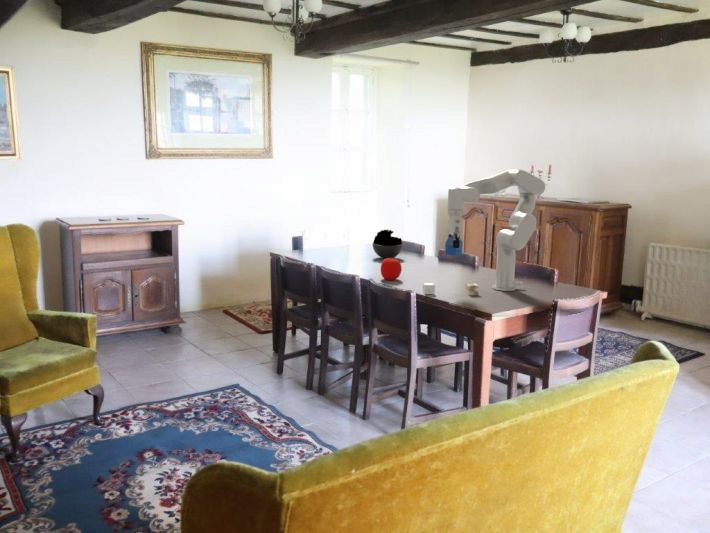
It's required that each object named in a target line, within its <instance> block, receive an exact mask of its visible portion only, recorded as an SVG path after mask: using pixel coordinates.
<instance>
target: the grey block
mask: <svg viewBox="0 0 710 533" xmlns="http://www.w3.org/2000/svg"><path fill="white" fill-rule="evenodd" d="M435 285H436V284H434V282H423V283H422V293H423V295H425V294H435V293H436V292H435V291H436V286H435Z"/></svg>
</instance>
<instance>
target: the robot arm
mask: <svg viewBox="0 0 710 533" xmlns="http://www.w3.org/2000/svg"><path fill="white" fill-rule="evenodd" d="M511 187H517V190H518V194H519V201H518V203H517V205H516V207H515V209H514V210H513V211H512V213H511V215H510V217H509V220H508V225H509V227H510V228H504V229H501V230H499V231H498V232H497V234H496V238H495V241H496V249H497V250H496V251H497V252H496V269H495V282H494V284H492V286H491V287H492V289H493V290H496V291H502V292H513V291H516V290H517V286H523V285H524V283H523V281H516V280H515V274H516V273H515V272H516V271H515V268H516V258H517V257H516V255H517V254H516V251H520V250H522V249H524V248H525V246H526V245H527V244H528V242H529V240H530V239H531V237H532V235H533V233H534V232H535V230H536V227H537V224H538V222H537V217H536V216H535V215H534V214H532V213H533V211H534V209H535V207H536V196H537V197H538V196H541V195H542V194H544V193H545V190H546V183H545V182H544V180H542V179H541V178H539V177H537V176H535V175H533V174H532V173H531V172H528V171H526V170H524V169H517V168H511V169H507V170H504V171H502V172H500V173H497V174H495V175H492V176H489V177H486V178H485V177H484V178H481V179H478V180H474V181H471V182H468V183H466V184H463V185H461V186H459V187H454V186H453V187H449V189H448V191H447V192H448V195H447V216H448V222H447V233H448V237H447V239H448V238H449V237H451V235H453V237H454V240H453V248H459V246H460V238H461V236H462V234H463V220H462V219H463V218H462V216H463V214H464V213H463V211H464V203H475V202H477V201H478V200H480V198H481V195H487V194H488V195H492V194H496V193H499V192H501V191H503V190H506V189H508V188H511ZM455 236H456V237H455Z"/></svg>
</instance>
